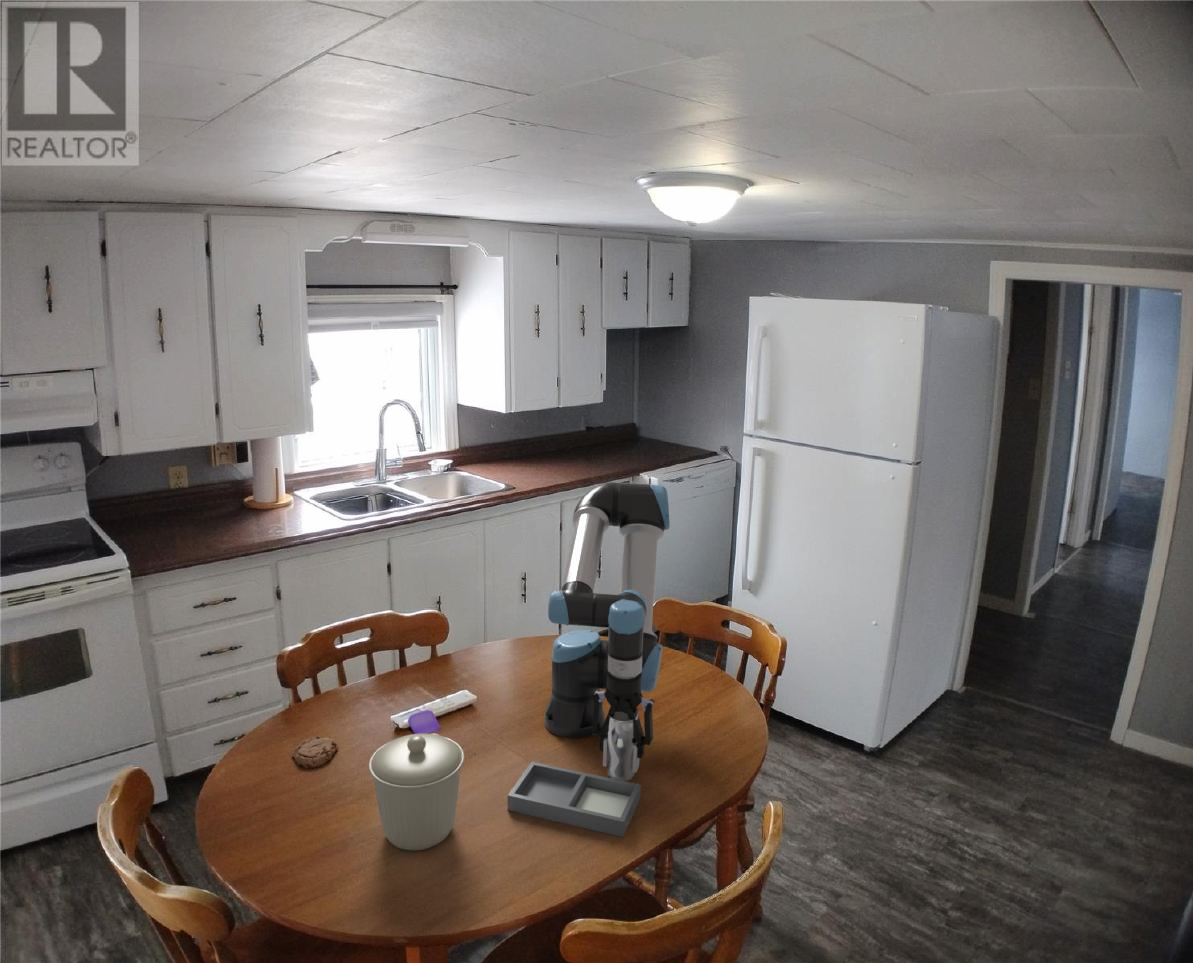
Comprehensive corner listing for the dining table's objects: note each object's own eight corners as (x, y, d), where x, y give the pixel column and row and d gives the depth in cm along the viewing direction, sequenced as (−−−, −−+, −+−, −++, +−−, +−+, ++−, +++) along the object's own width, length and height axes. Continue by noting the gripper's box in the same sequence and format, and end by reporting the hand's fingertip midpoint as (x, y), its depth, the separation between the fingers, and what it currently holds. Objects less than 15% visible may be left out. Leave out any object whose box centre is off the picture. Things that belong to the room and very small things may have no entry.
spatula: (470, 764, 184) (470, 754, 183) (443, 773, 180) (442, 763, 180) (431, 717, 203) (430, 708, 203) (405, 724, 200) (404, 715, 199)
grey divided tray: (507, 809, 167) (507, 795, 167) (531, 775, 179) (531, 761, 179) (623, 837, 160) (623, 821, 159) (640, 799, 172) (640, 784, 171)
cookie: (296, 773, 178) (295, 761, 178) (290, 749, 188) (289, 737, 187) (342, 762, 183) (341, 750, 182) (334, 739, 192) (334, 728, 191)
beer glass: (614, 786, 176) (616, 724, 173) (599, 769, 182) (601, 709, 179) (641, 778, 179) (644, 717, 176) (626, 761, 185) (629, 702, 182)
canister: (416, 794, 172) (413, 704, 167) (483, 823, 163) (483, 730, 158) (352, 842, 157) (346, 745, 152) (422, 877, 148) (419, 775, 143)
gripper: (577, 671, 174) (575, 766, 180) (663, 687, 169) (658, 784, 174) (588, 657, 181) (585, 749, 187) (671, 671, 176) (666, 765, 181)
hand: (620, 765), depth 180 cm, fingers closed on beer glass, 6 cm apart
